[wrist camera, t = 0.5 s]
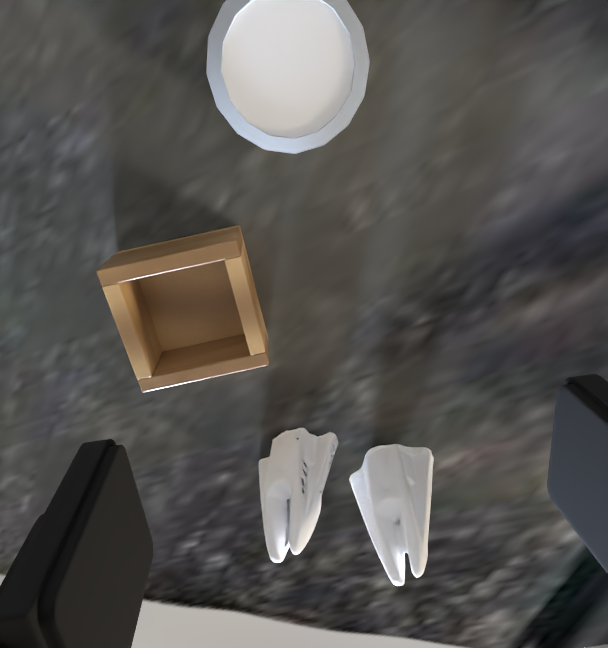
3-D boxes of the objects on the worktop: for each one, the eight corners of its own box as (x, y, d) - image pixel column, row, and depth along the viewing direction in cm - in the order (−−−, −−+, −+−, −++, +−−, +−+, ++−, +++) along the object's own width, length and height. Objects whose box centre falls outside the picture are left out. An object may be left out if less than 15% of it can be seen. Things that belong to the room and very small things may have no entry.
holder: (116, 251, 30) (95, 270, 26) (239, 224, 30) (236, 240, 26) (155, 362, 33) (142, 393, 29) (268, 337, 33) (269, 365, 29)
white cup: (274, -27, 26) (278, -76, 19) (370, 72, 28) (403, 59, 21) (192, 85, 27) (171, 75, 21) (289, 171, 29) (297, 186, 23)
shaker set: (425, 432, 37) (488, 552, 27) (413, 478, 39) (469, 608, 28) (263, 421, 36) (264, 544, 25) (257, 470, 37) (256, 603, 27)
